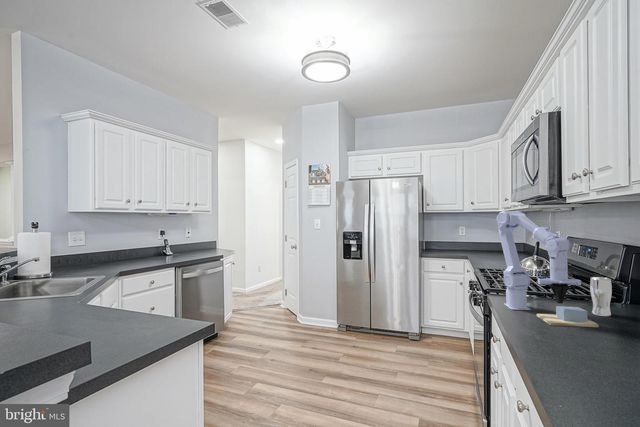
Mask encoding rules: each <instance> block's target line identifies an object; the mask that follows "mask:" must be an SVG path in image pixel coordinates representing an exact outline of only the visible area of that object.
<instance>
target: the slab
mask: <svg viewBox="0 0 640 427" xmlns="http://www.w3.org/2000/svg"><path fill="white" fill-rule="evenodd" d="M555 314H556V316H557V317H558V318H560V319H562V320H564V321H583V322H587V319H588V310H585V309H583V308H581V307H580V306H564V305H563V306H562V305H559V306H558V305H557V306H555Z"/></svg>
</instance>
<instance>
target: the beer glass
mask: <svg viewBox="0 0 640 427" xmlns="http://www.w3.org/2000/svg"><path fill="white" fill-rule="evenodd" d="M589 281H590V283H589V291H590V296H591V300H592V311H591V314H593V315H595V316H600V317H611V316H612V314H611V307H610V304H611V299H612V293H613V292H612V291H613V289H612V288H613V286H612V279H611V278H609V277H602V276H591V277H590V280H589Z"/></svg>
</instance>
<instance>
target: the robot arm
mask: <svg viewBox="0 0 640 427" xmlns="http://www.w3.org/2000/svg"><path fill="white" fill-rule="evenodd" d="M495 219H496V222H497V226H498V236H499V240H500V243H501V247H502V251H503V252H502V253H503V256H504V260H505V264H506V269H504V270H503V272H502V273H503V283H504V285H505V286H506V290H505V302H504V303H503V305H504V306H506V307H507V308H508V309H510V310H513V311H514V310H516V311H517V310H518V311H519V310H520V311H531V308H530V307H528V304H527V303H528V301H527V299H528V298H527V289H528V287H529V286H530V284H531V277H530V275H529V274H528V272H527V269H525V267H523V266H522V265H521V262H520V258H519V253H518V251H517V246H516V243H515V238H514V234H513V232H514V231H515V230H516V229H517V228H518V227H520V226H521V227H522V228H524V229H525V230H527V231H528V232H530V233H532V234H533V238H534V239H536V240H537V241H538V242H540V243H541V244H542V245H544V246H545V249H546V251H547V254H548V257H549V278H537V284H538V285H548V286H549V287H550V289H551V291H552V293H553V295H554V298H555V302H556V303H557V304H564V299H565V296H566V294H567V293H568V291H569V290H570V285H571V286H574V285H575V286H582V280H580V279H576V278H575V279H574V278H569V276H568V274H569V272H568V269H569V268H568V252H569V251H571V250H570V249H571V247H572V246H571V242H570V240H569V239H568V238H566V237H560V236H559V235H558V233H557V234H556V233H554V232H552V231H551V230H549V229H550V228H549V227H547V226H545V227H544V226H539V225H537V224H536V223H535V222H534V221H532V220H531V219H530V218H529V217H527V215H526V214H525V213H523V212H522V211H521V210H515V211H514V210H513V211H512V210H511V211H506V210H502V211H500V212H499V213H498V215H497V216H496V218H495Z"/></svg>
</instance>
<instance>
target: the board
mask: <svg viewBox="0 0 640 427" xmlns="http://www.w3.org/2000/svg"><path fill="white" fill-rule="evenodd" d="M536 317H538V319H541V320H542V321H544V322H546V324H548V325H549V326H557V327H558V326H560V327H582V328H584V327H586V328H588V327H589V328H599V327H600V326H599V323H597V322H594V321H592V320H591V319H588V318H587V322H583V321H564V320H562V319H560V318H558V317H557V316H556V313H536Z"/></svg>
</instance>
